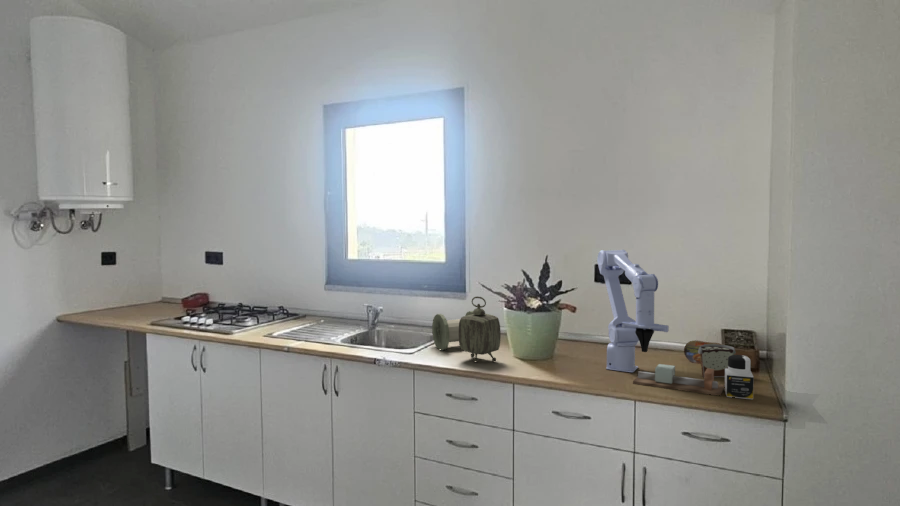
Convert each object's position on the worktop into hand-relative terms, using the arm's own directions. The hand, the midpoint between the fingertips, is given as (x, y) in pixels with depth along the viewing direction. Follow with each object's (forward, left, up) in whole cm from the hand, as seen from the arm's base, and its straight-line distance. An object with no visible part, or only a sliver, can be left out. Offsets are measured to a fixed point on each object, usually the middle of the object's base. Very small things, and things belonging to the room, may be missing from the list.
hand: (644, 351), depth 182 cm
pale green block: (+7, 0, -9) cm, 11 cm away
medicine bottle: (+28, -1, -10) cm, 30 cm away
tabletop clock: (-60, -5, -10) cm, 62 cm away
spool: (-80, +10, -10) cm, 81 cm away
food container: (+18, +19, -10) cm, 28 cm away
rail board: (+10, 0, -10) cm, 14 cm away
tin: (+14, +33, -10) cm, 37 cm away
